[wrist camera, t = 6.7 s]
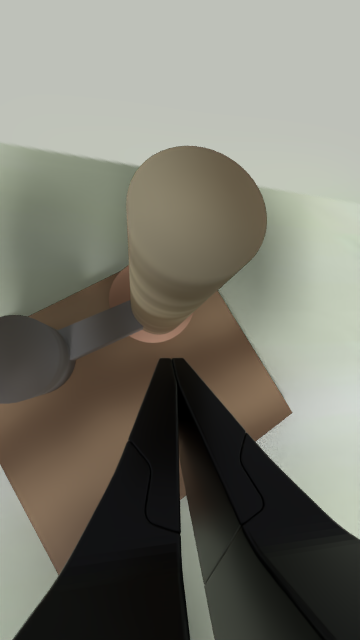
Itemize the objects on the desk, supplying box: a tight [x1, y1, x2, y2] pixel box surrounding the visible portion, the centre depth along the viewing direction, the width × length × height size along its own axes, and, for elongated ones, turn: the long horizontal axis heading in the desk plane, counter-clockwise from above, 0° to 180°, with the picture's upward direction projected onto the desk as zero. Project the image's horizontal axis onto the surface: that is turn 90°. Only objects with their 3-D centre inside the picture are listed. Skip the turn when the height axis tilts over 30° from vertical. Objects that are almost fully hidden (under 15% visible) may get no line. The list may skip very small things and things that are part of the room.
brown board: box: [0, 265, 292, 575], centre depth 15 cm, size 13×15×1 cm
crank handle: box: [0, 146, 267, 404], centre depth 10 cm, size 10×4×10 cm, turn 116°
